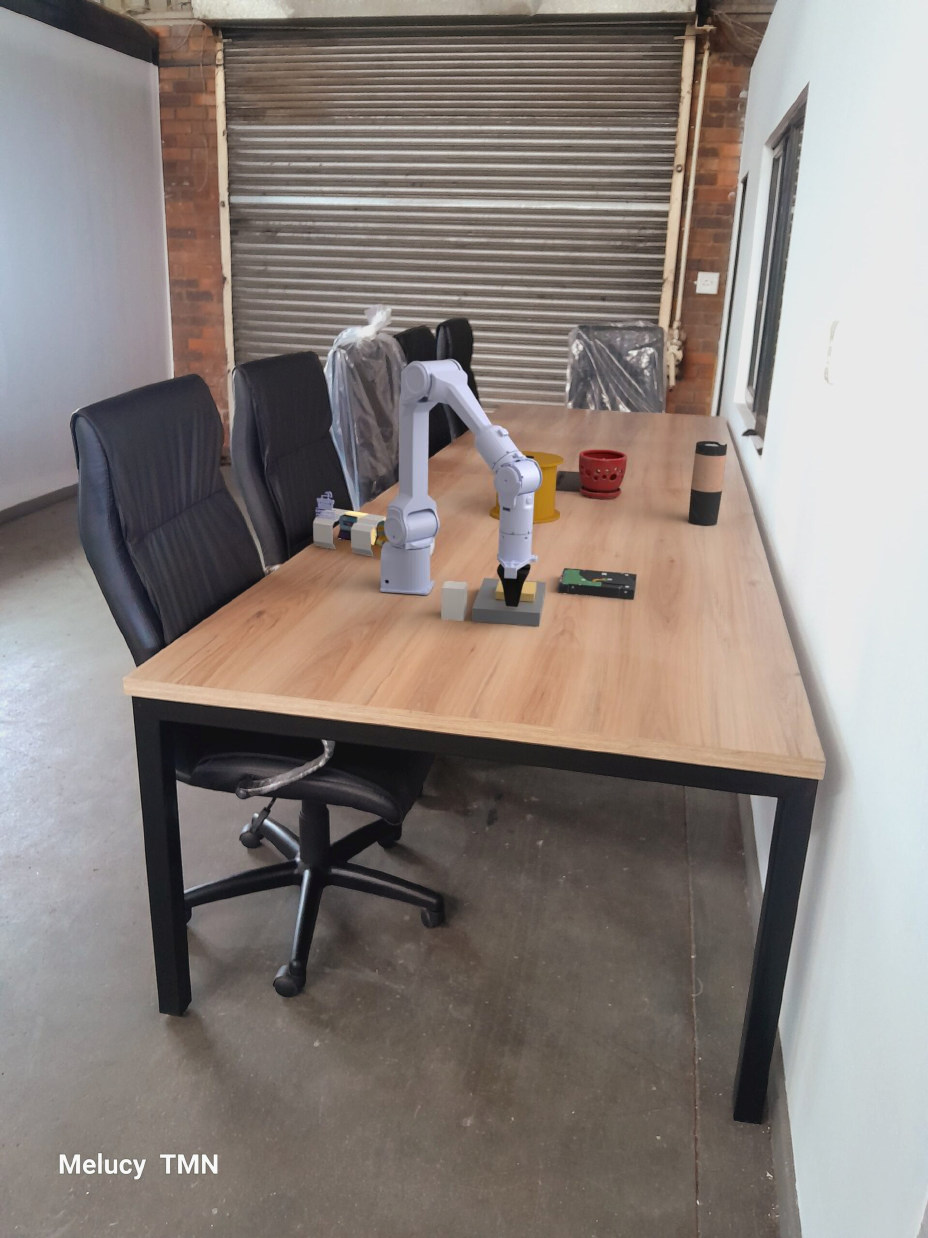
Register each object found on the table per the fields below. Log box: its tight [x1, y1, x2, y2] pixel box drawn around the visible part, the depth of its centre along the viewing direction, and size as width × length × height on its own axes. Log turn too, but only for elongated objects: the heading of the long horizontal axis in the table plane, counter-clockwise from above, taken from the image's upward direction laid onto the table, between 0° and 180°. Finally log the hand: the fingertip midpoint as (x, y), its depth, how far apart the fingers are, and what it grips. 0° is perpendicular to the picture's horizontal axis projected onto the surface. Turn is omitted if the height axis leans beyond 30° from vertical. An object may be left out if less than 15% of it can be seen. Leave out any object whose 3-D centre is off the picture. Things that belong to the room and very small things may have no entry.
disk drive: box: [557, 567, 637, 601], centre depth 189 cm, size 10×3×15 cm
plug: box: [440, 580, 468, 622], centre depth 171 cm, size 4×4×6 cm
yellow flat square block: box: [495, 580, 537, 602], centre depth 176 cm, size 7×7×2 cm
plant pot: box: [578, 448, 628, 500], centre depth 266 cm, size 13×13×12 cm
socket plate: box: [471, 577, 547, 627], centre depth 177 cm, size 12×18×2 cm, turn 172°
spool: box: [489, 450, 564, 524], centre depth 242 cm, size 18×18×15 cm
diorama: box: [312, 491, 436, 558], centre depth 208 cm, size 25×10×13 cm, turn 62°
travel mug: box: [688, 440, 728, 527], centre depth 239 cm, size 8×8×20 cm
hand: (512, 605), depth 169 cm, fingers closed
